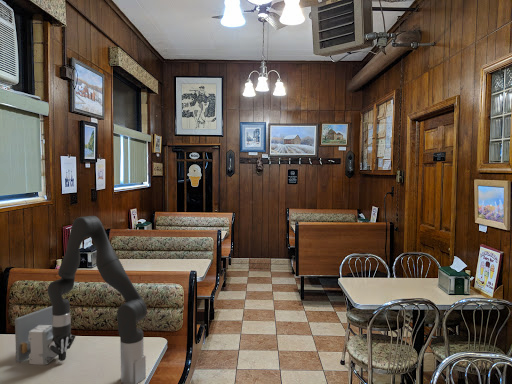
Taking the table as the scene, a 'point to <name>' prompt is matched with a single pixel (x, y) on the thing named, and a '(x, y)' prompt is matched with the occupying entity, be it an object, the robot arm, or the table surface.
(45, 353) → the circuit breaker
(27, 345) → the din rail
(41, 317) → the mounting panel
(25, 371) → the table surface
